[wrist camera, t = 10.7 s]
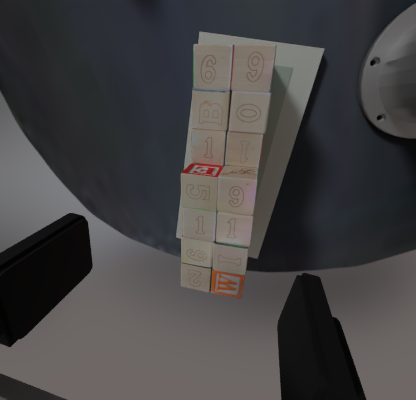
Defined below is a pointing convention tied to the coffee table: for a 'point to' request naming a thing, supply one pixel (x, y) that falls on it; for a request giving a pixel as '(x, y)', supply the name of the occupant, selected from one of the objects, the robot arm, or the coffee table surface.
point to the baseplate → (272, 124)
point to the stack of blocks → (224, 163)
